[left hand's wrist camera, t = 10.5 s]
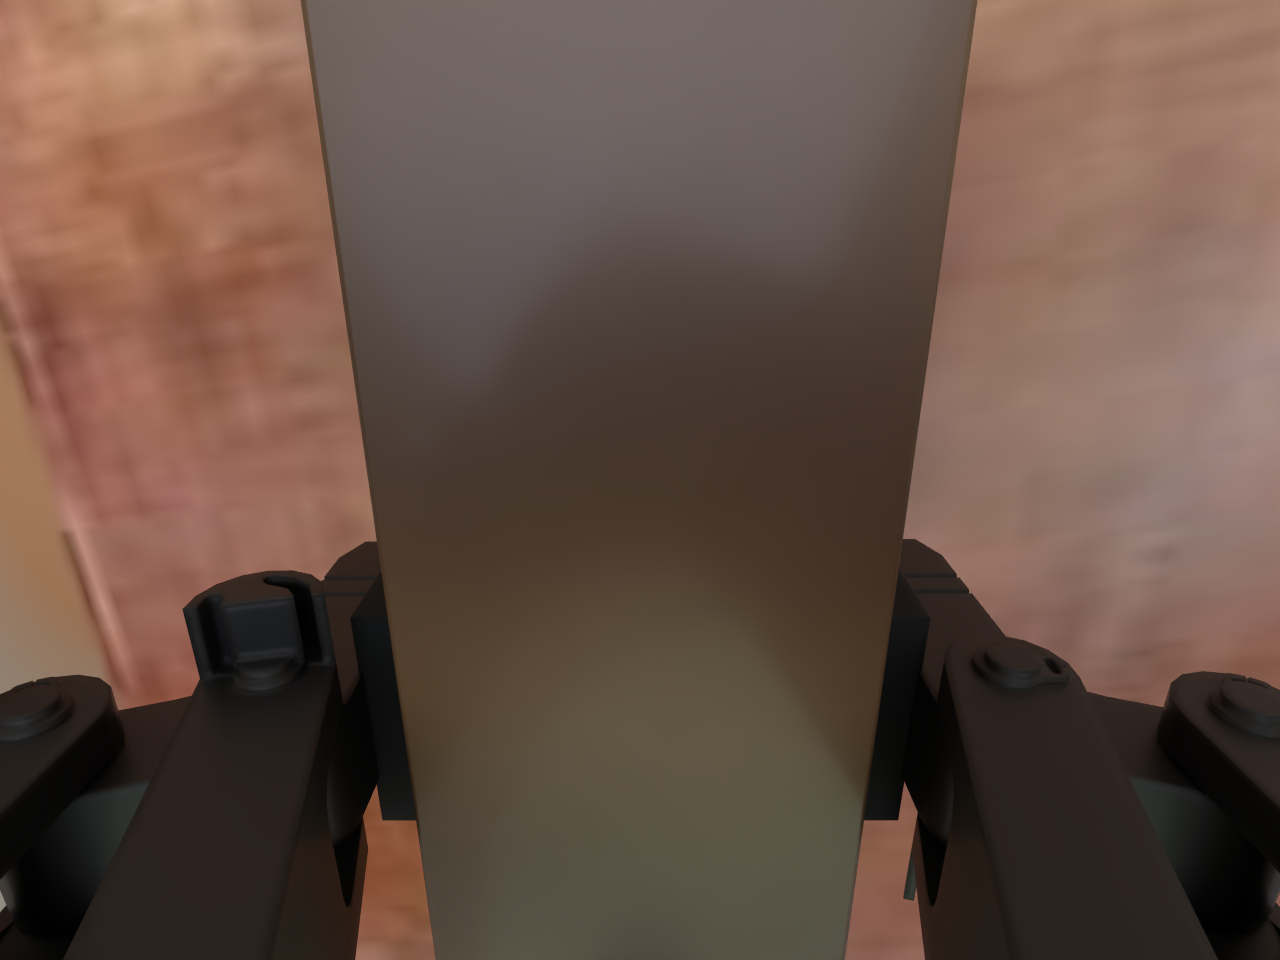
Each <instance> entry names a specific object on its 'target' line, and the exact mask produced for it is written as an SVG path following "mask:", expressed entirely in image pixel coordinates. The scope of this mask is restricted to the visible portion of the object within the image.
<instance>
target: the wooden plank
mask: <svg viewBox="0 0 1280 960" xmlns="http://www.w3.org/2000/svg"><path fill="white" fill-rule="evenodd" d="M301 5H302V12H303V20H304V27H305V34H306V41H307V48H308V55H309V62H310V69H311V76H312V83H313V91H314V98H315V105H316V112H317V119H318V126H319V133H320V140H321V147H322V154H323V162H324V169H325V176H326V183H327V190H328V197H329V204H330V211H331V218H332V225H333V233H334V240H335V247H336V254H337V261H338V268H339V275H340V282H341V289H342V296H343V304H344V311H345V318H346V325H347V332H348V339H349V346H350V353H351V360H352V367H353V375H354V382H355V389H356V396H357V403H358V410H359V417H360V424H361V431H362V438H363V446H364V453H365V460H366V467H367V474H368V481H369V488H370V495H371V502H372V509H373V517H374V524H375V531H376V538H377V545H378V552H379V559H380V566H381V573H382V580H383V588H384V595H385V602H386V609H387V616H388V623H389V630H390V637H391V644H392V651H393V659H394V666H395V673H396V680H397V687H398V694H399V701H400V708H401V715H402V722H403V730H404V737H405V744H406V751H407V758H408V765H409V772H410V779H411V786H412V793H413V801H414V808H415V815H416V822H417V829H418V836H419V843H420V850H421V857H422V864H423V872H424V879H425V886H426V893H427V900H428V907H429V914H430V921H431V928H432V935H433V943H434V950H435V957H436V960H845V953H846V945H847V938H848V931H849V924H850V916H851V909H852V902H853V895H854V888H855V880H856V873H857V866H858V859H859V851H860V844H861V837H862V830H863V823H864V815H865V808H866V801H867V794H868V786H869V779H870V772H871V765H872V758H873V750H874V743H875V736H876V729H877V721H878V714H879V707H880V700H881V693H882V685H883V678H884V671H885V664H886V656H887V649H888V642H889V635H890V628H891V620H892V613H893V606H894V599H895V591H896V584H897V577H898V570H899V562H900V555H901V548H902V541H903V534H904V526H905V519H906V512H907V505H908V497H909V490H910V483H911V476H912V469H913V461H914V454H915V447H916V440H917V432H918V425H919V418H920V411H921V404H922V396H923V389H924V382H925V375H926V367H927V360H928V353H929V346H930V339H931V331H932V324H933V317H934V310H935V302H936V295H937V288H938V281H939V274H940V266H941V259H942V252H943V245H944V237H945V230H946V223H947V216H948V209H949V201H950V194H951V187H952V180H953V172H954V165H955V158H956V151H957V144H958V136H959V129H960V122H961V115H962V107H963V100H964V93H965V86H966V79H967V71H968V64H969V57H970V50H971V42H972V35H973V28H974V21H975V14H976V6H977V0H301Z"/></svg>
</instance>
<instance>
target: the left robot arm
mask: <svg viewBox="0 0 1280 960" xmlns="http://www.w3.org/2000/svg"><path fill="white" fill-rule="evenodd" d="M956 575H957V574H956V573H955V571H954V570H953V569H952V568H951V566H950V565H949V564H948V563H947V561H946V560H945V559H944V557H943V556H942V555H941V554H939V553H937V552H936V551H934V550H932V549H931V548H929V547H927V546H926V545H924V544H922V543H921V542H919V541H917V540H916V539H903V541H902V548H901V555H900V562H899V570H898V577H897V584H896V591H895V599H894V606H893V613H892V620H891V628H890V635H889V642H888V649H887V656H886V664H885V671H884V678H883V685H882V693H881V700H880V707H879V714H878V721H877V729H876V736H875V743H874V750H873V758H872V765H871V772H870V779H869V786H868V794H867V801H866V808H865V815H864V820H898V817H899V811H900V805H901V798H902V792H903V786H904V781H905V784H906V786H907V788H908V791H909V793H910V795H911V797H912V800H913V802H914V804H915V807H916V809H917V811H918V815H917V820H916V826H915V832H914V838H913V844H912V849H911V855H910V861H909V867H908V873H907V878H906V885H905V891H904V897H903V899H908V900H913V901H914V896H915V891H916V886H917V895H918V903H919V912H920V920H921V929H922V937H923V946H924V954H925V960H1280V907H1279V906H1278V905H1277V903H1276V900H1277V897H1278V895H1279V893H1280V690H1279V689H1276V688H1274V687H1272V686H1271V685H1269V684H1268V683H1265V682H1263V681H1260V680H1256V679H1253V678H1250V677H1249V679H1248V678H1246V677H1245V676H1241V675H1236V674H1231V673H1228V674H1225V673H1215V672H1205V671H1202V672H1196V673H1189V674H1182V675H1181V676H1180V677H1178V678H1177V679H1176V680H1174V681H1173V682H1172V683H1171V684H1170V688H1169V691H1168V694H1167V698H1166V701H1165V704H1164V707H1158V706H1153V705H1148V704H1143V703H1137V702H1132V701H1127V700H1122V699H1117V698H1111V697H1106V696H1102V695H1098V694H1094V693H1090V692H1087V691H1086V689H1085V687H1084V685H1083V683H1082V681H1081V679H1080V677H1079V676H1078V675H1077V674H1076V672H1075V671H1074V670H1073V669H1072V668H1071V666H1070V665H1069V664H1068V663H1067V662H1065V661H1064V660H1062V659H1061V658H1059V657H1058V656H1056V655H1055V654H1053V653H1052V652H1050V651H1049V650H1047V649H1044V648H1042V647H1039V646H1037V645H1034V644H1032V643H1029V642H1027V641H1024V640H1019V639H1015V638H1010V637H1006V636H1005V635H1004V634H1003V632H1002V631H1001V630H1000V629H999V627H998V626H997V625H996V623H995V622H994V621H993V620H992V618H991V617H990V616H989V615H988V613H987V612H986V611H985V610H984V608H983V607H982V606H981V604H980V603H979V602H978V601H977V599H976V598H975V597H974V596H973V594H969V589H968V588H967V587H966V585H965V584H964V583H963V582H962V580H961V579H960V578H957V576H956ZM183 613H184V617H185V621H186V625H187V629H188V633H189V636H190V640H191V644H192V648H193V652H194V656H195V660H196V664H197V668H198V672H199V676H200V680H199V682H198V684H197V686H196V688H195V690H194V693H193V695H192V696H189V697H185V698H181V699H177V700H172V701H166V702H161V703H156V704H151V705H146V706H140V707H135V708H130V709H125V710H119V711H118V708H117V705H116V702H115V698H114V695H113V692H112V689H111V686H109V685H108V684H107V683H105V682H104V681H103V680H101V679H100V678H96V677H90V676H83V675H71V676H61V677H48V678H43V679H39V680H37V681H36V682H33V681H31V682H27V683H24V684H21V685H18V686H16V687H14V688H12V689H11V690H9V691H7V692H5V693H2V694H0V891H1V893H2V895H3V898H4V900H5V903H6V906H5V908H4V909H3V910H2V911H1V912H0V960H355V956H356V948H357V939H358V931H359V922H360V913H361V905H362V896H363V888H364V879H365V871H366V862H367V854H368V845H367V838H366V832H365V826H364V820H363V815H364V812H365V810H366V808H367V805H368V803H369V801H370V798H371V796H372V794H373V791H374V789H375V787H376V784H377V789H378V795H379V801H380V807H381V813H382V820H416V815H415V808H414V801H413V793H412V786H411V779H410V772H409V765H408V758H407V751H406V744H405V737H404V730H403V722H402V715H401V708H400V701H399V694H398V687H397V680H396V673H395V666H394V659H393V651H392V644H391V637H390V630H389V623H388V616H387V609H386V602H385V595H384V588H383V580H382V573H381V566H380V559H379V552H378V545H377V542H365V543H363V544H361V545H360V546H358V547H356V548H355V549H353V550H351V551H350V552H348V553H347V554H345V555H343V556H342V557H340V558H339V559H338V560H337V561H336V563H335V564H334V565H333V567H332V568H331V569H330V570H329V572H328V573H327V574H326V576H325V580H322V581H320V580H318V579H317V578H315V577H314V576H313V575H311V574H306V573H302V572H297V571H265V572H260V573H254V574H248V575H243V576H240V577H237V578H234V579H231V580H228V581H225V582H222V583H219V584H216V585H215V586H213V587H211V588H209V589H207V590H206V591H204V592H202V593H200V594H198V595H197V596H195V597H194V598H193V599H192V600H191V601H190V602H189V603H188V604H187V605H186V606H185V607H184V608H183Z"/></svg>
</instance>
